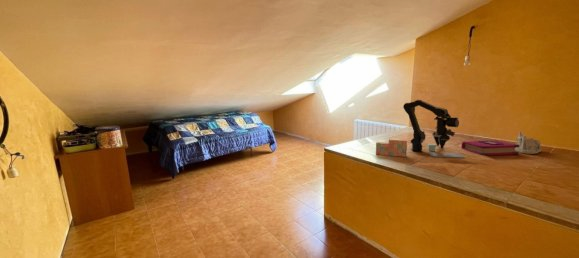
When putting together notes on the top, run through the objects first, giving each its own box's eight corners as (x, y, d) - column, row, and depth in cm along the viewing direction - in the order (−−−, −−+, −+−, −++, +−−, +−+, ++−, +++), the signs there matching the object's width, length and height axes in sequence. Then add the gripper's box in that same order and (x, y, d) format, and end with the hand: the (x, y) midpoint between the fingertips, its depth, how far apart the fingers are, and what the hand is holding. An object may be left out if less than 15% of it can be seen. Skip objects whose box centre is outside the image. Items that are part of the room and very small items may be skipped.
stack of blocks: (375, 154, 186) (376, 139, 184) (376, 153, 192) (376, 137, 190) (406, 157, 178) (407, 140, 176) (406, 154, 184) (406, 138, 182)
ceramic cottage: (521, 153, 179) (523, 133, 177) (511, 148, 194) (512, 130, 192) (549, 154, 173) (551, 134, 171) (536, 149, 188) (538, 130, 186)
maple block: (436, 154, 178) (437, 148, 177) (434, 153, 182) (434, 146, 182) (444, 155, 176) (444, 148, 175) (442, 153, 181) (442, 147, 180)
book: (461, 149, 197) (461, 140, 196) (494, 148, 198) (495, 139, 197) (482, 156, 176) (483, 145, 175) (519, 154, 177) (520, 144, 176)
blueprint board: (432, 157, 175) (432, 155, 175) (427, 153, 187) (428, 152, 187) (464, 158, 170) (464, 157, 170) (457, 154, 181) (457, 153, 181)
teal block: (428, 151, 193) (429, 145, 192) (427, 149, 198) (427, 143, 197) (435, 151, 192) (436, 145, 191) (434, 149, 197) (434, 143, 196)
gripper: (459, 127, 165) (457, 150, 167) (449, 124, 183) (448, 144, 185) (440, 127, 168) (439, 149, 170) (432, 124, 186) (431, 144, 188)
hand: (440, 147), depth 178 cm, fingers open, 9 cm apart
